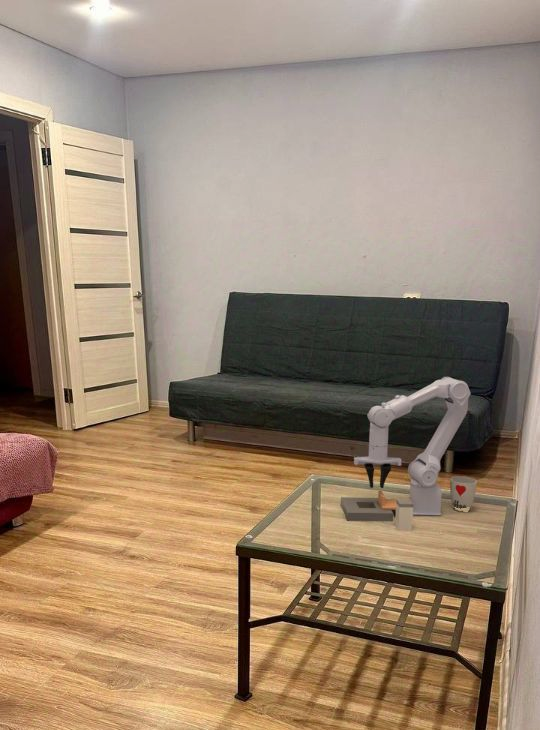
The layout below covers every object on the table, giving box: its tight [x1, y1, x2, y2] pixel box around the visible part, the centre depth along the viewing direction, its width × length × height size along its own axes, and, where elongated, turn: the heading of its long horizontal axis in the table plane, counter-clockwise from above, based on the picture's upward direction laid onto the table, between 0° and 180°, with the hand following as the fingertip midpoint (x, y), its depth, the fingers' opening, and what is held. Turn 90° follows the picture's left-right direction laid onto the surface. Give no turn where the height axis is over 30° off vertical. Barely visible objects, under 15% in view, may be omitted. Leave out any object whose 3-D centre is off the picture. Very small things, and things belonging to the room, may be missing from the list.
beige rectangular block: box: [394, 498, 414, 532], centre depth 176 cm, size 4×4×8 cm
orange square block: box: [377, 490, 397, 511], centre depth 187 cm, size 8×8×4 cm
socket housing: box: [340, 496, 394, 522], centre depth 188 cm, size 14×14×2 cm
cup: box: [449, 475, 478, 509], centre depth 192 cm, size 8×8×10 cm
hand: (376, 487), depth 187 cm, fingers open, 3 cm apart
